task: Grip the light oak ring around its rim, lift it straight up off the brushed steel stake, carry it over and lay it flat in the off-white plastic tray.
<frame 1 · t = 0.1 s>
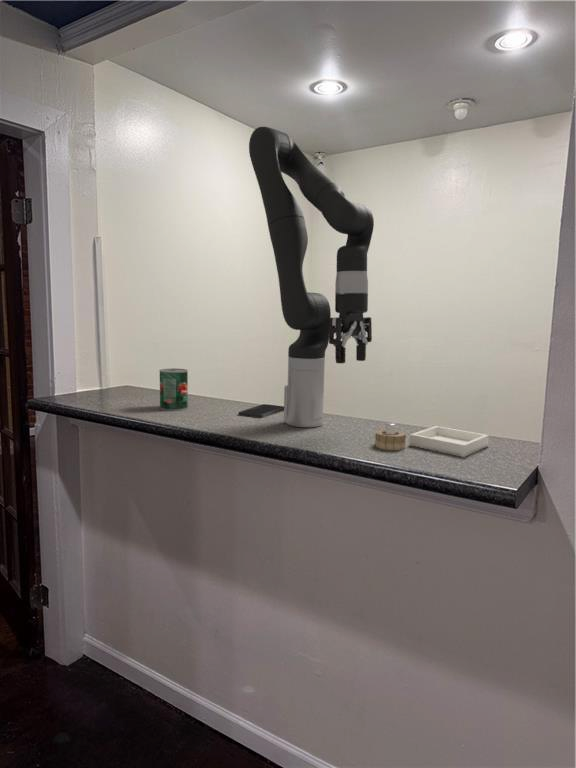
hand: (350, 361, 127), 17 cm above the countertop, tool pointing down, fingers open, 8 cm apart
phone: (262, 414, 152), on the countertop
oak ring: (389, 446, 118), on the countertop
canned tomato: (173, 408, 155), on the countertop
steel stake: (389, 446, 118), on the countertop
white tray: (448, 445, 120), on the countertop
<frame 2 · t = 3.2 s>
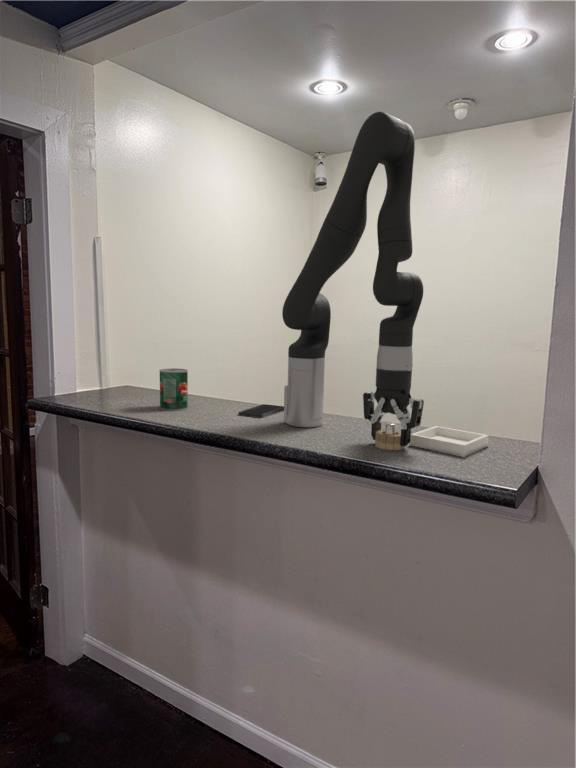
hand: (390, 442, 118), 1 cm above the countertop, tool pointing down, fingers closed on oak ring, 6 cm apart
oak ring: (389, 446, 118), on the countertop, touching gripper
everything else where it was.
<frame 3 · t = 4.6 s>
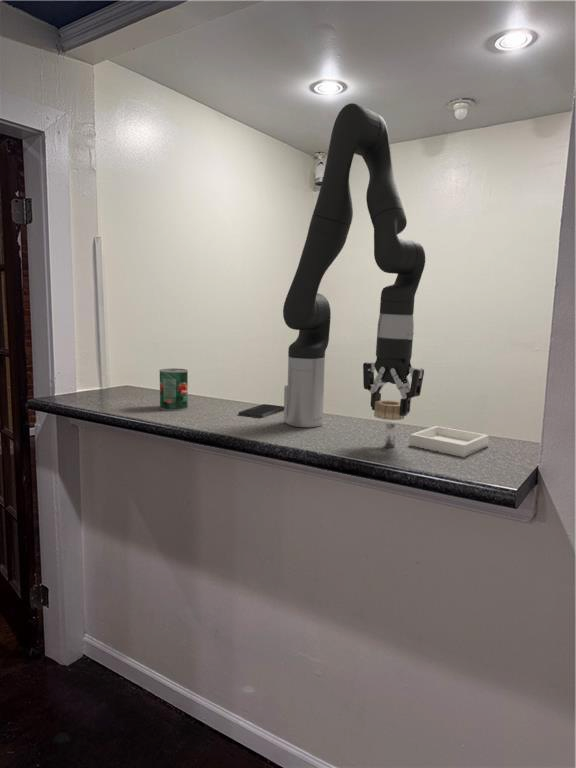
hand: (389, 412, 117), 8 cm above the countertop, tool pointing down, fingers closed on oak ring, 6 cm apart
oak ring: (389, 416, 117), point 7 cm above the countertop, touching gripper
everything else where it was.
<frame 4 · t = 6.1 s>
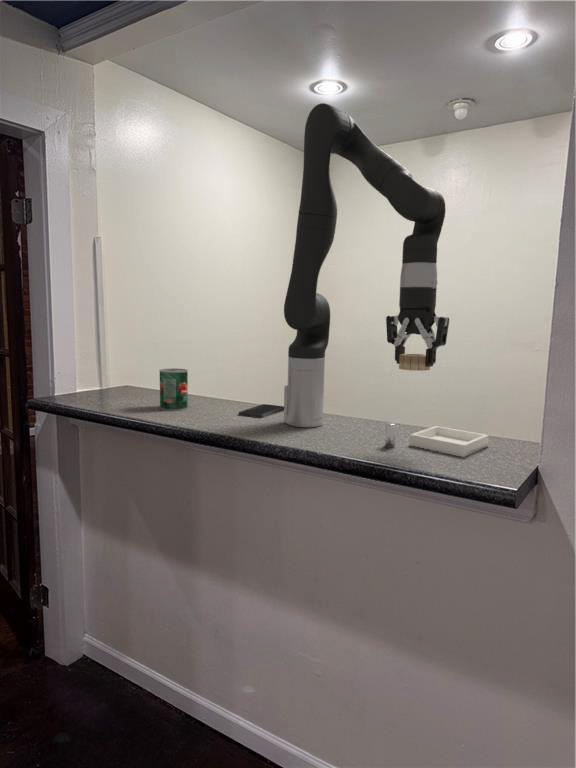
hand: (414, 364, 116), 18 cm above the countertop, tool pointing down, fingers closed on oak ring, 6 cm apart
oak ring: (414, 368, 116), point 17 cm above the countertop, touching gripper
everything else where it was.
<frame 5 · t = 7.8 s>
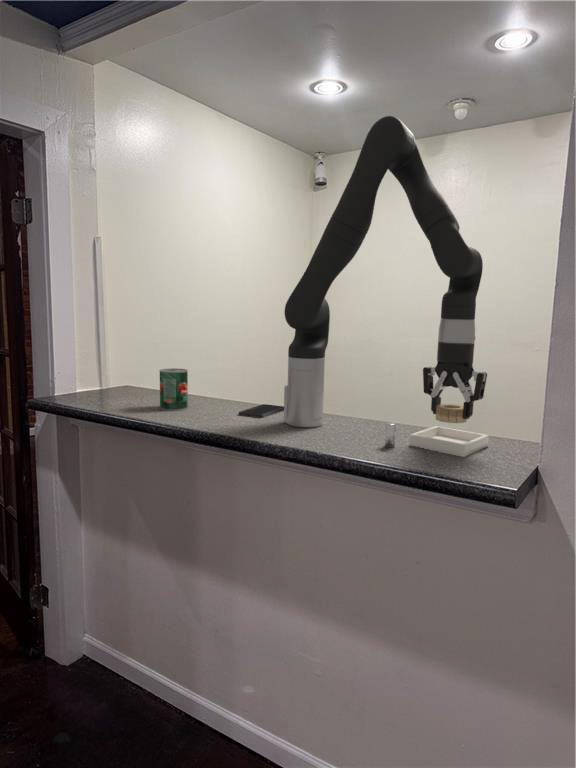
hand: (451, 416, 119), 7 cm above the countertop, tool pointing down, fingers closed on oak ring, 6 cm apart
oak ring: (450, 420, 119), point 6 cm above the countertop, touching gripper
everything else where it was.
when the fingers open (3 cm above the countertop, at t = 9.2 s): oak ring drops 1 cm, resting on white tray.
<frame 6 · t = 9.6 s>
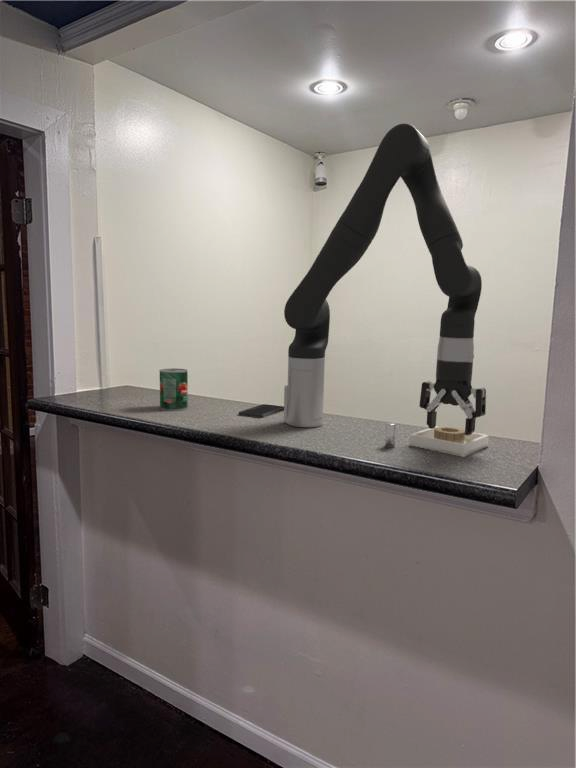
hand: (449, 431, 119), 3 cm above the countertop, tool pointing down, fingers open, 8 cm apart
oak ring: (448, 443, 120), point 1 cm above the countertop, touching white tray
everything else where it was.
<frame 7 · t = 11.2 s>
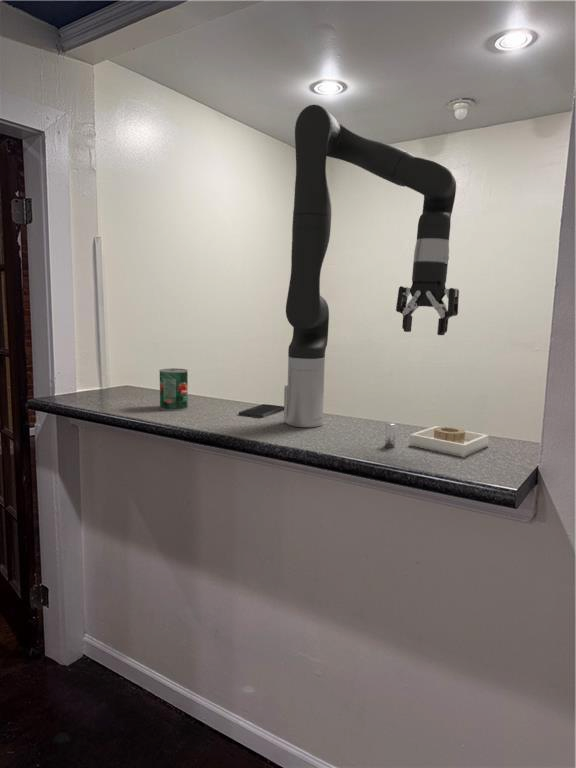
hand: (423, 333, 123), 24 cm above the countertop, tool pointing down, fingers open, 8 cm apart
nothing on the countertop moved.
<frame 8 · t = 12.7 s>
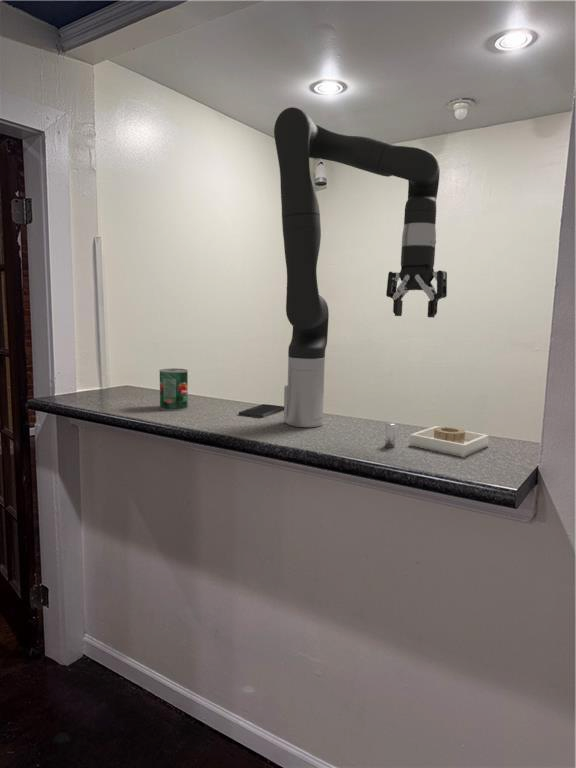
hand: (414, 316, 126), 28 cm above the countertop, tool pointing down, fingers open, 8 cm apart
nothing on the countertop moved.
at the end: oak ring inside the target area on the white tray (0.1 cm from its centre), point 0.6 cm above the white tray's base; oak ring tilted 0°; the gripper is holding nothing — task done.
